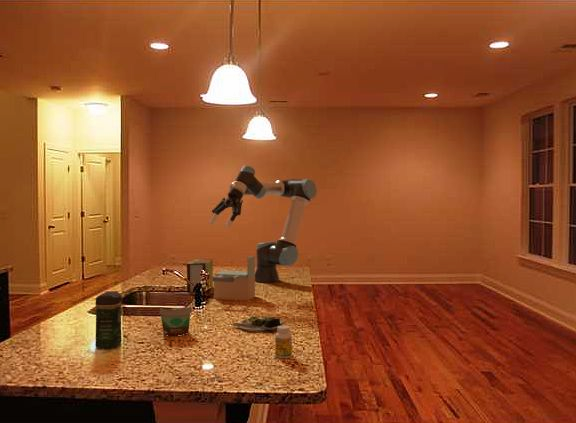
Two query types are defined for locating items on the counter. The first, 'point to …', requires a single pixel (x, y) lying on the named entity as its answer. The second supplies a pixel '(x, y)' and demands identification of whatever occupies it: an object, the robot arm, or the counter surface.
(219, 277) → the flap
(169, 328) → the food container
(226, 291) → the carton
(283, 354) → the supplement bottle
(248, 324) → the salad plate
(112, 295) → the coffee jar
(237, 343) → the counter surface
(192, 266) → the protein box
